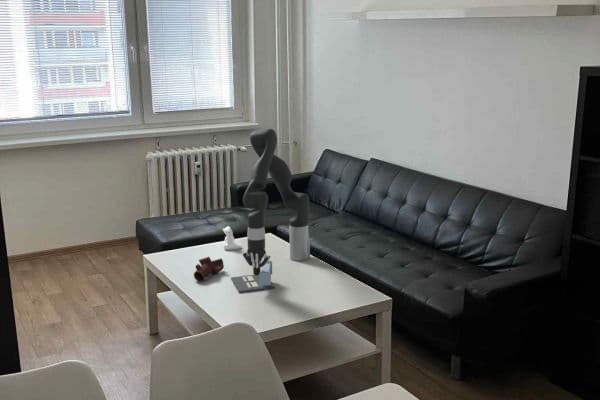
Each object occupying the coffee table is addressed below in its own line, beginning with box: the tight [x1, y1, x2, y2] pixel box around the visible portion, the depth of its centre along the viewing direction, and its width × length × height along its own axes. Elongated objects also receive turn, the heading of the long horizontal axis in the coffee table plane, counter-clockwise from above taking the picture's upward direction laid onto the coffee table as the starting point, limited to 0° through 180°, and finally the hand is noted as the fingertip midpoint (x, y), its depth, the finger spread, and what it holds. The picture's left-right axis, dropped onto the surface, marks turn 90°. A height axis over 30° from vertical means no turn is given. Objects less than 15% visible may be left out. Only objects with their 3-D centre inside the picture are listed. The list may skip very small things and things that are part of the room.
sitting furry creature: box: [222, 226, 243, 251], centre depth 360 cm, size 10×9×12 cm
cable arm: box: [259, 259, 273, 286], centre depth 304 cm, size 17×5×6 cm, turn 179°
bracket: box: [193, 256, 225, 283], centre depth 320 cm, size 6×17×10 cm, turn 154°
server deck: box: [230, 274, 276, 294], centre depth 309 cm, size 16×18×4 cm
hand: (256, 275), depth 300 cm, fingers closed
